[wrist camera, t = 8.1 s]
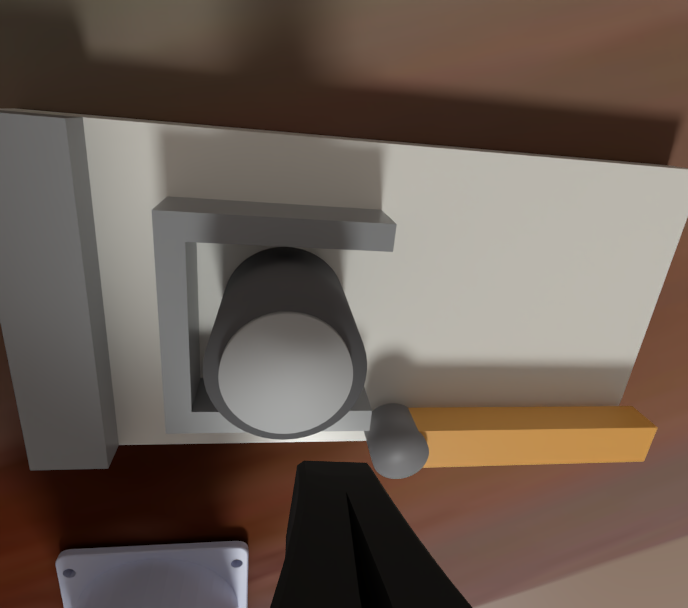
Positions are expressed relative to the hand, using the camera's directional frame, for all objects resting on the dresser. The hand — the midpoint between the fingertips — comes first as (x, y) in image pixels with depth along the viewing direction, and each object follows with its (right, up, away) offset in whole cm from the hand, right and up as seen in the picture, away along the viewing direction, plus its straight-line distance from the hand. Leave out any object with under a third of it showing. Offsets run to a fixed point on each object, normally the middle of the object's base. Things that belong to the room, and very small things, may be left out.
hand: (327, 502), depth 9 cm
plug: (-2, +4, +7) cm, 8 cm away
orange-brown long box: (+6, -1, +9) cm, 11 cm away
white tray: (+1, +4, +9) cm, 10 cm away
